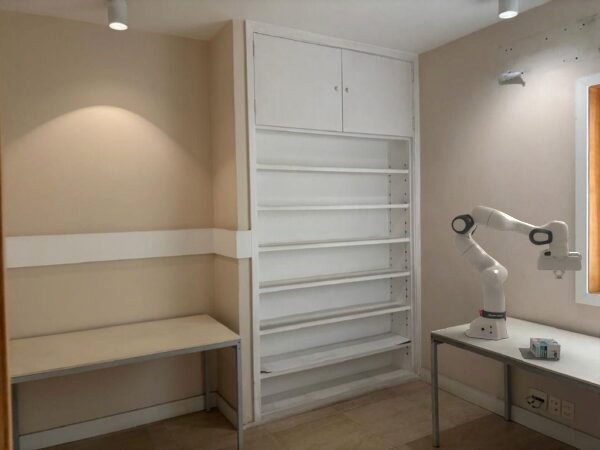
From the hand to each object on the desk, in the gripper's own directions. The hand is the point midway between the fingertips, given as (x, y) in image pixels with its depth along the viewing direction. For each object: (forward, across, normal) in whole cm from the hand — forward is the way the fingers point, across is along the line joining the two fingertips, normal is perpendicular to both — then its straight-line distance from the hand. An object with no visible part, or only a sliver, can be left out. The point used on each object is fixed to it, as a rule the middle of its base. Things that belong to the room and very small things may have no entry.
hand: (558, 278), depth 243 cm
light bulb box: (+30, +5, +20) cm, 37 cm away
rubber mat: (+34, +14, +20) cm, 42 cm away
